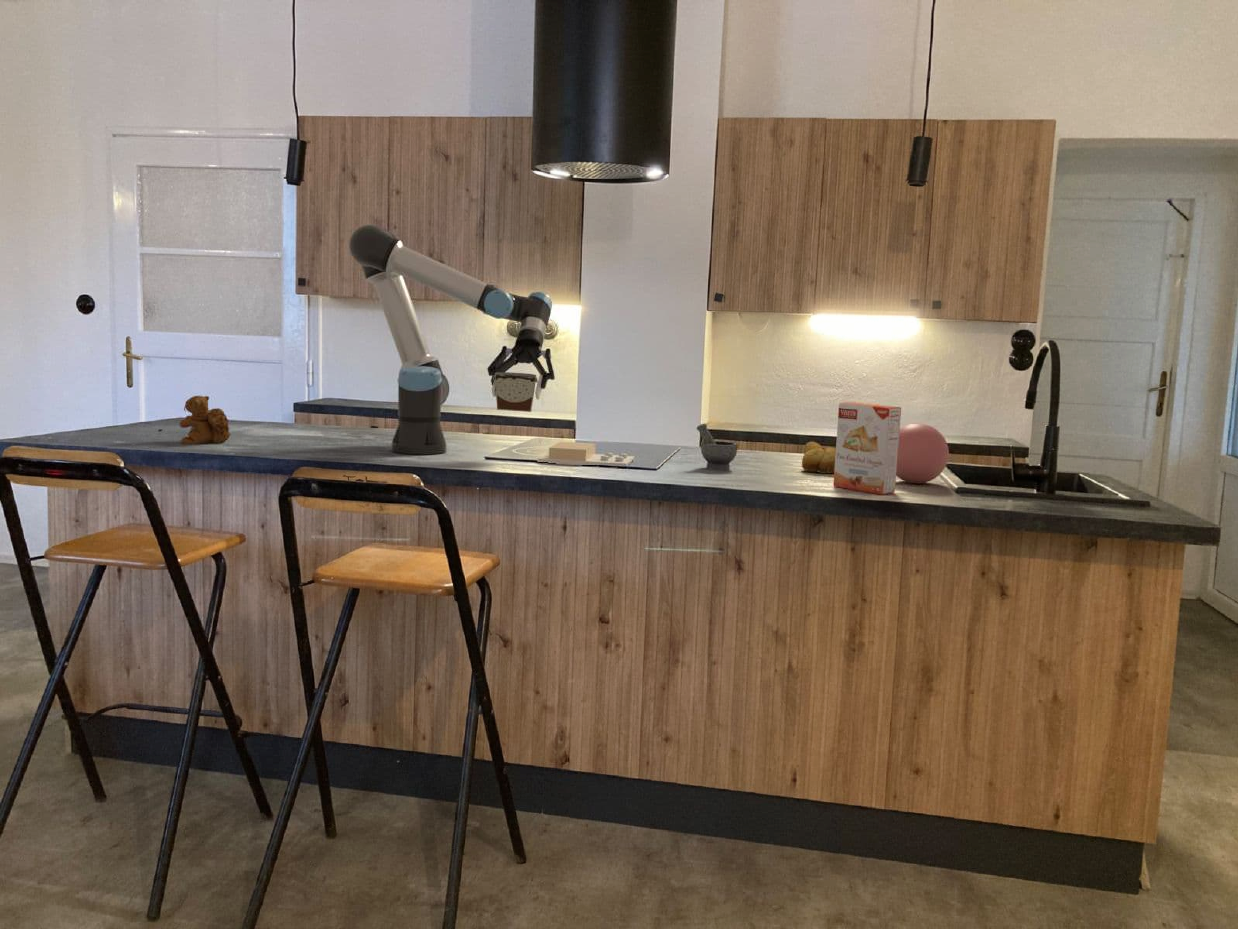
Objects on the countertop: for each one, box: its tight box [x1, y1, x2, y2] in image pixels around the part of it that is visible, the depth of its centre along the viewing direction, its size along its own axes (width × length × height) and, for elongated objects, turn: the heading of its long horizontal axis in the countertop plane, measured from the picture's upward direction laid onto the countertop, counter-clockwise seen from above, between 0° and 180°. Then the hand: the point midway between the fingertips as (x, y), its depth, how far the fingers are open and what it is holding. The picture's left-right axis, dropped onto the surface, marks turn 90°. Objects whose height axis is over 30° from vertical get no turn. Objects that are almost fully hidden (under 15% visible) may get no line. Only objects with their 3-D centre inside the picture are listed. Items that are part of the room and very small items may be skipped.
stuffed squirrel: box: [178, 395, 232, 445], centre depth 286 cm, size 10×14×13 cm
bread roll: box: [801, 440, 836, 474], centre depth 275 cm, size 13×10×8 cm
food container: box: [493, 371, 538, 413], centre depth 278 cm, size 12×6×10 cm, turn 83°
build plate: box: [536, 441, 635, 466], centre depth 277 cm, size 24×16×4 cm, turn 82°
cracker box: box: [832, 401, 902, 496], centre depth 245 cm, size 14×6×21 cm, turn 45°
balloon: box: [896, 423, 950, 485], centre depth 263 cm, size 15×20×15 cm
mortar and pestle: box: [696, 422, 739, 471], centre depth 274 cm, size 11×9×12 cm
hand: (515, 394), depth 275 cm, fingers closed on food container, 11 cm apart
